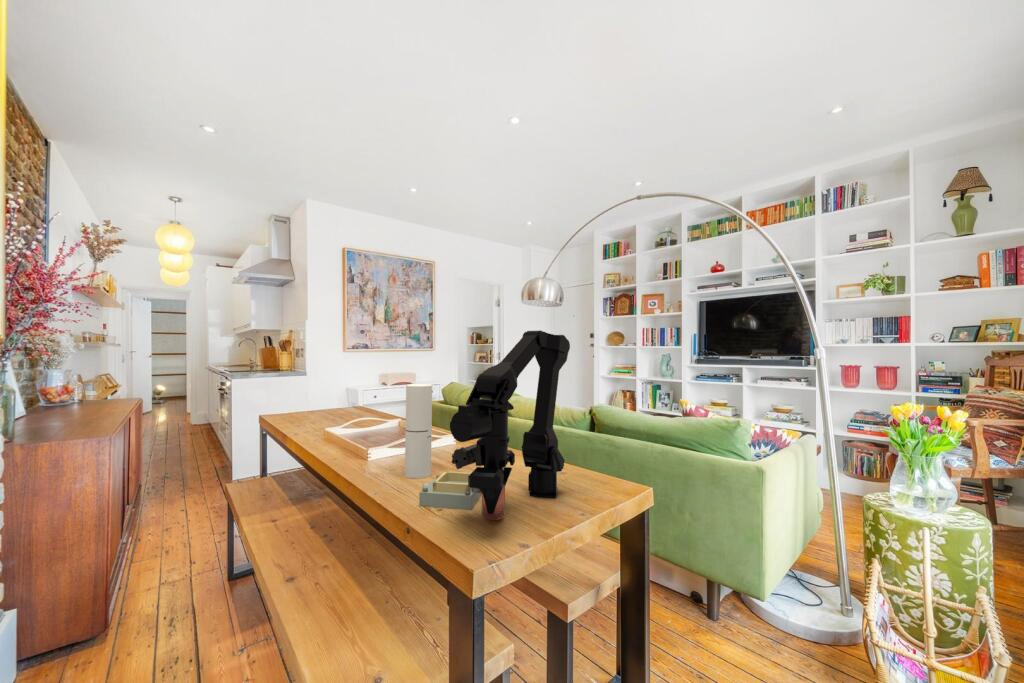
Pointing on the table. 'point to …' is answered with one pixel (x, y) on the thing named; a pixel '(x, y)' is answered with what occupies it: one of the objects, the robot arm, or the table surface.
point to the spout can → (499, 508)
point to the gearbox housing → (448, 492)
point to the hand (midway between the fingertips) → (493, 508)
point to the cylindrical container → (418, 430)
